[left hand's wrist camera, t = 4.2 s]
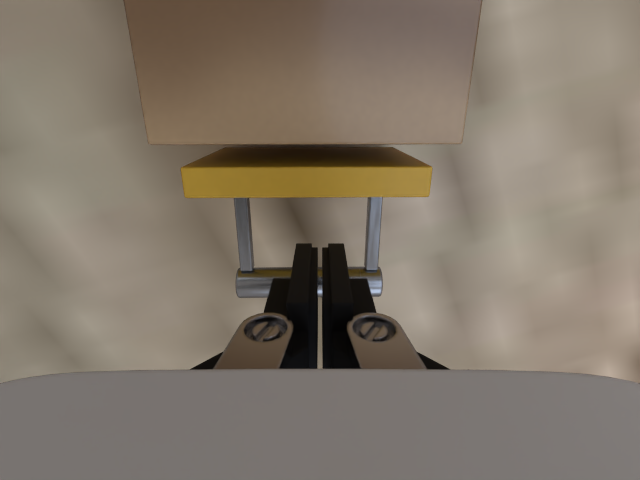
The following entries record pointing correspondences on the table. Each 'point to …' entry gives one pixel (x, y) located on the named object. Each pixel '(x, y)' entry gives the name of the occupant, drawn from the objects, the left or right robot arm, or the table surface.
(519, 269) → the table surface
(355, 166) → the drawer
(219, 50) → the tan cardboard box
